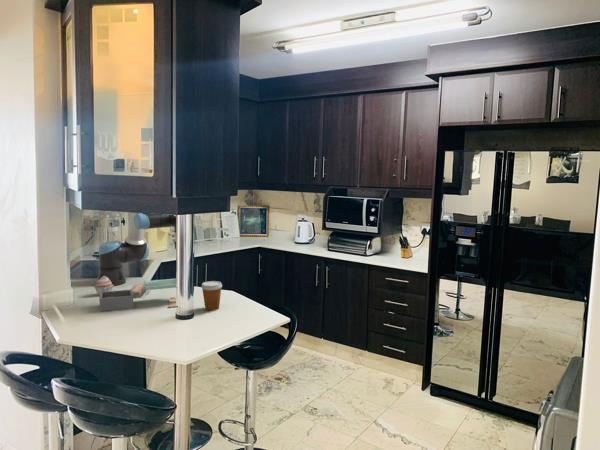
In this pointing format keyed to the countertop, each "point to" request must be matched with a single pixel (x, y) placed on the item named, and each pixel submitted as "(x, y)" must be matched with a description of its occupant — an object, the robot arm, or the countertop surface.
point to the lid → (160, 284)
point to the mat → (172, 302)
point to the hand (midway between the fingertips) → (184, 288)
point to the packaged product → (139, 291)
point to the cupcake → (103, 285)
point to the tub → (116, 300)
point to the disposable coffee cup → (211, 294)
